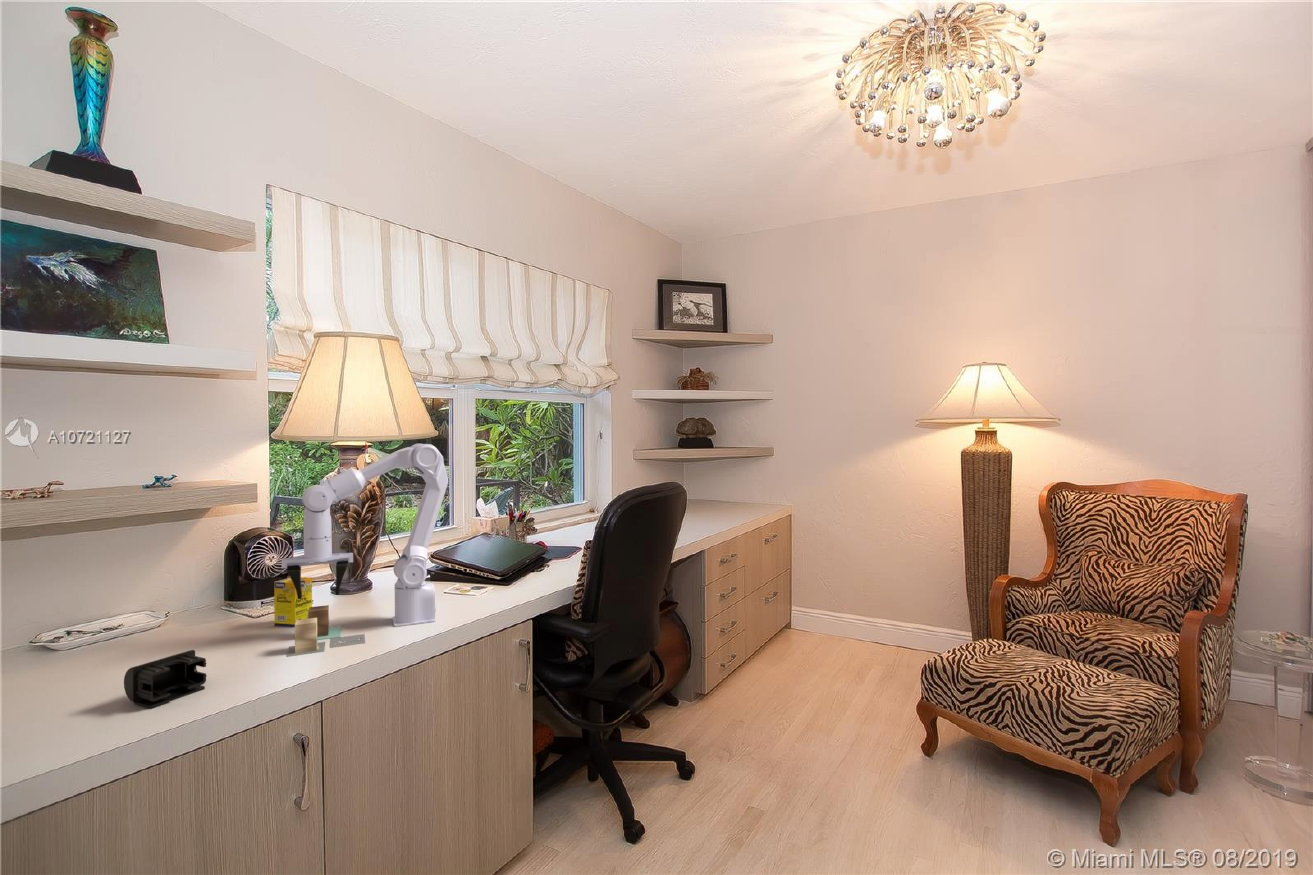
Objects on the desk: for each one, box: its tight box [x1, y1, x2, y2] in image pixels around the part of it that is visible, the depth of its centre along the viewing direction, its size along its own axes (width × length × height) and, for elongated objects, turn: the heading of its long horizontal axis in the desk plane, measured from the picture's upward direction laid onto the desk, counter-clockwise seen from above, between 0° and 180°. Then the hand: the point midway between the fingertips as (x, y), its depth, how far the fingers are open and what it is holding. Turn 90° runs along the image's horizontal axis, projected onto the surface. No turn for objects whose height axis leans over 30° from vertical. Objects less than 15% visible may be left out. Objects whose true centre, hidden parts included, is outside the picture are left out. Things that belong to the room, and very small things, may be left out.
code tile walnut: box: [329, 633, 366, 649], centre depth 143 cm, size 7×7×1 cm
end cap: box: [123, 649, 208, 710], centre depth 114 cm, size 10×7×7 cm
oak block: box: [294, 618, 318, 653], centre depth 137 cm, size 4×4×6 cm
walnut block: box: [308, 604, 330, 637], centre depth 147 cm, size 4×4×6 cm
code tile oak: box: [286, 641, 326, 658], centre depth 137 cm, size 7×7×1 cm
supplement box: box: [273, 576, 313, 628], centre depth 156 cm, size 6×6×11 cm
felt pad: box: [317, 625, 342, 641], centre depth 147 cm, size 9×9×1 cm
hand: (318, 595), depth 147 cm, fingers open, 7 cm apart
